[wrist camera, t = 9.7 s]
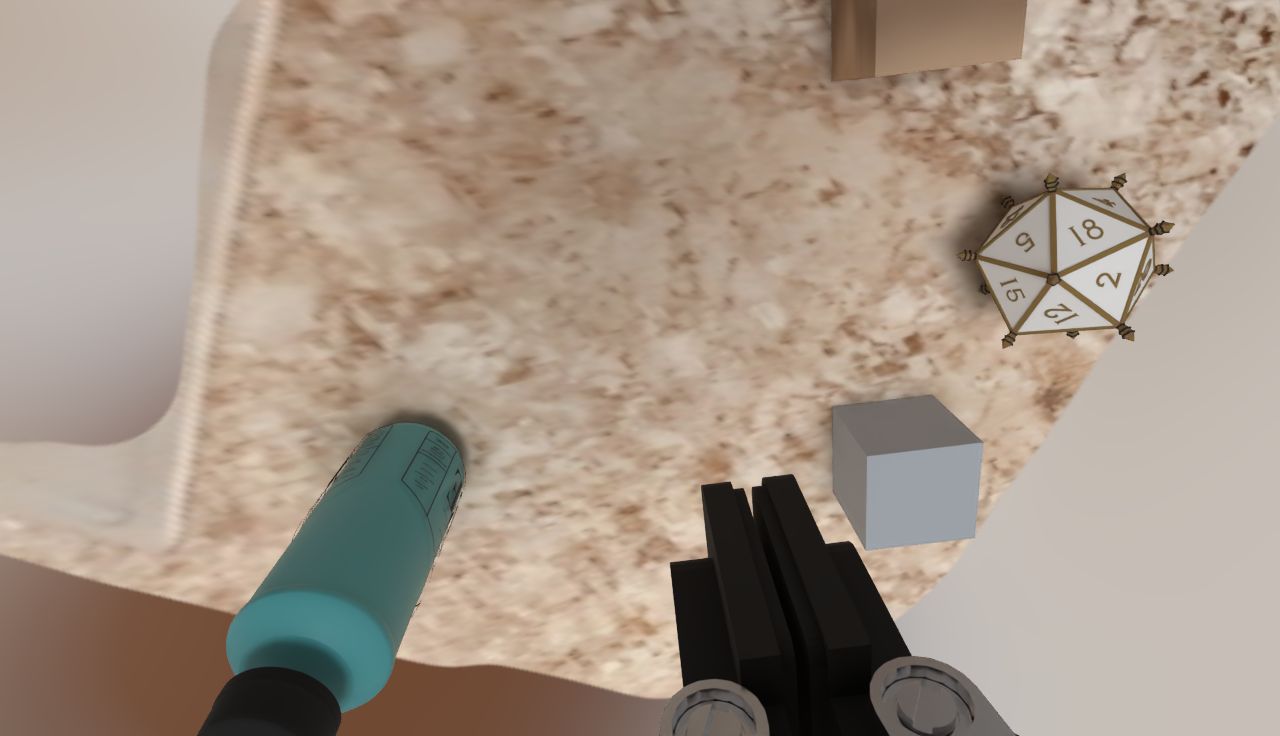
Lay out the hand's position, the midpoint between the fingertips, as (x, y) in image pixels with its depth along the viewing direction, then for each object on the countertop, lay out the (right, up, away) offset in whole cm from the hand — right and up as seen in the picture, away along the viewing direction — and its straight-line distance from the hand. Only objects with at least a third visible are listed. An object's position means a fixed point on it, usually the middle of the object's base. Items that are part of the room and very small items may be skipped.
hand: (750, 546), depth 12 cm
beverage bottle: (-15, -2, +28) cm, 32 cm away
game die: (+19, +10, +24) cm, 32 cm away
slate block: (+13, -1, +28) cm, 31 cm away
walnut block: (+10, +21, +19) cm, 30 cm away
